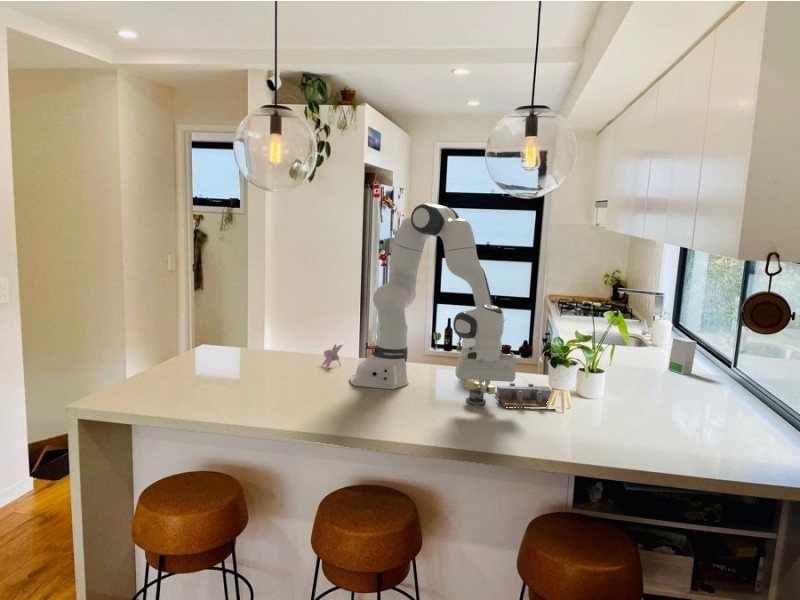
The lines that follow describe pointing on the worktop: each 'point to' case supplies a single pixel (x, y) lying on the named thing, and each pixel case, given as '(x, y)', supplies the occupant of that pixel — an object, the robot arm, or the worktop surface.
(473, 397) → the post
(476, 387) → the gold crumpled flat piece
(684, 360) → the skincare box
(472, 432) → the worktop surface
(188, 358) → the worktop surface
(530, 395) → the grey rectangular bar
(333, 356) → the lily
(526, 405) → the peg rack
